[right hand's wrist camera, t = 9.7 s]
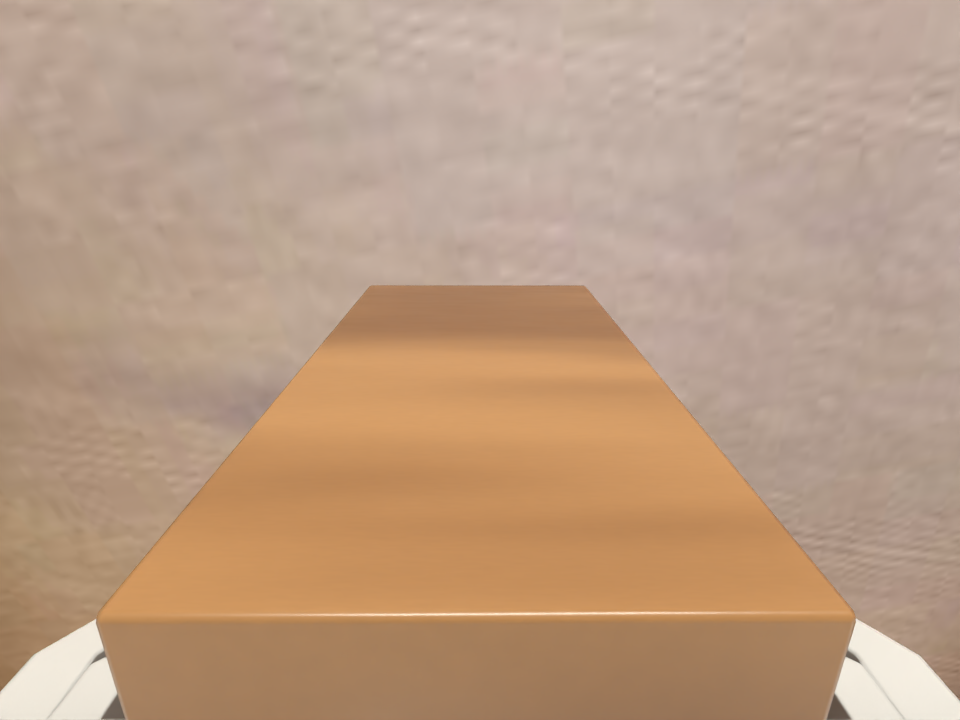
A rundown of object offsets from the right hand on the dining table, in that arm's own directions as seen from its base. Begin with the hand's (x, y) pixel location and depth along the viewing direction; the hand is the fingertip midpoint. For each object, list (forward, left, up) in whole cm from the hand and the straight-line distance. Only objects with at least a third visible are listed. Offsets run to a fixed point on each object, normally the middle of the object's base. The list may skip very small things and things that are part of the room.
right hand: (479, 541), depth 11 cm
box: (+4, +10, -7) cm, 12 cm away
